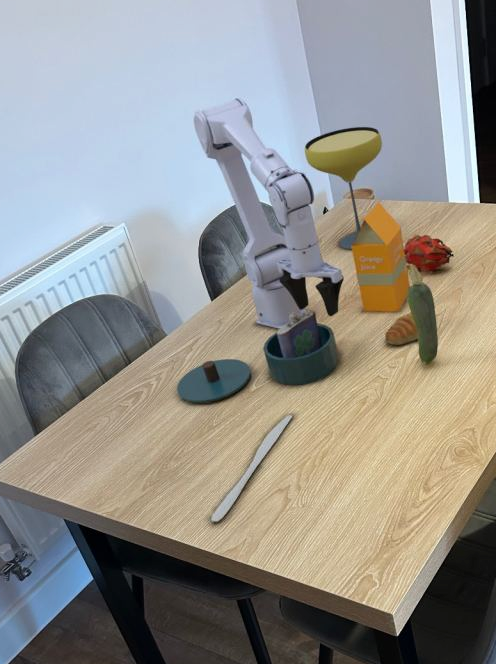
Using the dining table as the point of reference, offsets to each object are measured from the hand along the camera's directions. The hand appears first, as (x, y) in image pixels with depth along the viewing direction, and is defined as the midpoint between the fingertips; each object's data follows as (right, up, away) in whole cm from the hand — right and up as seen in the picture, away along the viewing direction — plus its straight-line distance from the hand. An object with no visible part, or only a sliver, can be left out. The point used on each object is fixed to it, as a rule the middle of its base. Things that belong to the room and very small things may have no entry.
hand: (318, 310), depth 144 cm
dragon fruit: (+24, +13, +25) cm, 37 cm away
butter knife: (-9, -29, -22) cm, 37 cm away
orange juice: (+14, +4, +16) cm, 22 cm away
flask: (-2, -10, +1) cm, 10 cm away
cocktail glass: (+9, +25, +46) cm, 53 cm away
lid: (-20, -13, +1) cm, 24 cm away
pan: (-3, -10, +1) cm, 11 cm away
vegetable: (+21, -11, -8) cm, 25 cm away
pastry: (+18, -4, +3) cm, 19 cm away
